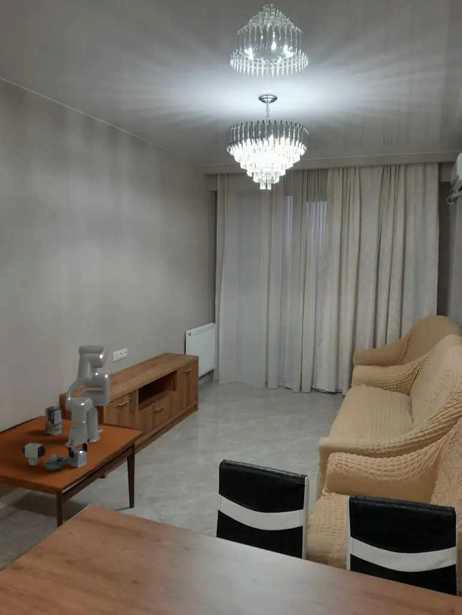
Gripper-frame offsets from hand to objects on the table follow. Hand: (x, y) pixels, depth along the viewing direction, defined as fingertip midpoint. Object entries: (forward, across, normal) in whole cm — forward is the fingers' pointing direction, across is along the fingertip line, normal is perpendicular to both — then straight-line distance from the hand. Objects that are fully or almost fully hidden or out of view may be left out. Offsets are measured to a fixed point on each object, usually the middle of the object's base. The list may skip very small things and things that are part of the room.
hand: (78, 454), depth 255 cm
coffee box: (+5, -24, -46) cm, 52 cm away
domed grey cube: (+6, -1, 0) cm, 6 cm away
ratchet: (+6, +3, -8) cm, 11 cm away
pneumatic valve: (+6, +12, -20) cm, 25 cm away
